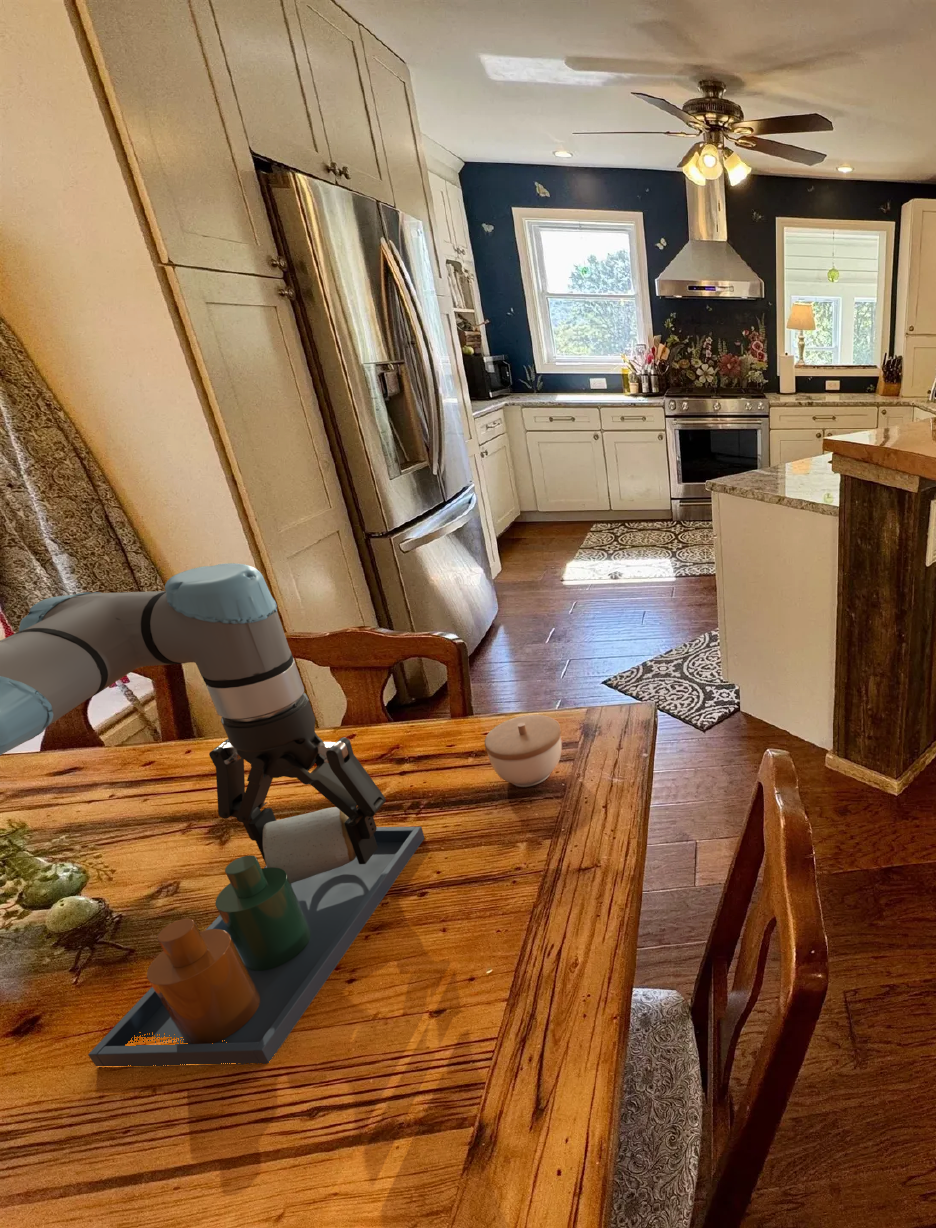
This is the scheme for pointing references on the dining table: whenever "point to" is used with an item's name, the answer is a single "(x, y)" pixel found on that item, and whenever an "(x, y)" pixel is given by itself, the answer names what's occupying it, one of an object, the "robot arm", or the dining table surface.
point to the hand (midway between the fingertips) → (323, 856)
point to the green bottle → (262, 914)
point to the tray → (286, 990)
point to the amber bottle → (202, 982)
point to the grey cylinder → (308, 843)
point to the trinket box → (525, 749)
